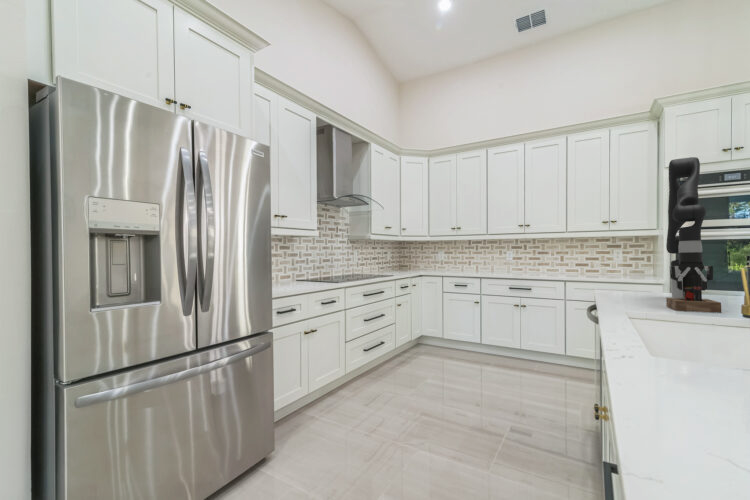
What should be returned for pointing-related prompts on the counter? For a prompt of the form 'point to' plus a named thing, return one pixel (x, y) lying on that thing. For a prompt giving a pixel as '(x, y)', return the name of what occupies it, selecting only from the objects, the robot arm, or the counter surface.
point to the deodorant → (692, 287)
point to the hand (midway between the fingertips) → (691, 290)
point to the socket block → (694, 305)
